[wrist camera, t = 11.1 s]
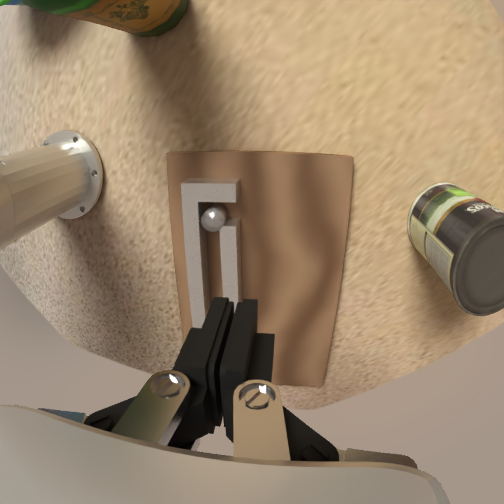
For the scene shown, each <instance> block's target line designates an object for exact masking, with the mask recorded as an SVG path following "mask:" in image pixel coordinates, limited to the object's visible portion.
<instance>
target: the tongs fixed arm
mask: <svg viewBox="0 0 504 504" xmlns="http://www.w3.org/2000/svg"><path fill="white" fill-rule="evenodd" d="M181 196H182V213H183V228H184V242H185V255H186V266H187V278H188V288H189V298H190V308H191V317H192V326H193V327H194V328H202V325H203V323H204V320H205V318H206V315H207V313H208V310H209V308H210V293H209V277H208V260H207V241H206V229H205V228H204V227H203V225H202V223H201V218H202V216H203V214H204V213H205V202H234V203H236V201H237V200H238V198H239V197H240V179H238V178H189V179H187V180H185V181H184V182H182V183H181Z"/></svg>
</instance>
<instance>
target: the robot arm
mask: <svg viewBox="0 0 504 504" xmlns="http://www.w3.org/2000/svg"><path fill="white" fill-rule="evenodd" d="M102 184H103V169H102V164H101V160H100V157H99V154H98V152H97V150H96V148H95V147H94V145H93V144H92V143H91V141H90V140H89V139H88V138H87V137H85V136H84V135H83V134H81V133H79V132H77V131H72V130H63V131H58V132H55V133H53V134H51V135H50V136H48V137H47V138H46V139H45V140H44V141H43V142H42V144H41V145H40V147H36V148H32V149H28V150H24V151H20V152H16V153H13V154H9V155H5V156H2V157H0V250H2V249H3V248H5V247H6V246H8V245H10V244H11V243H13V242H15V241H16V240H18V239H20V238H21V237H23V236H25V235H26V234H28V233H30V232H31V231H33V230H35V229H36V228H38V227H40V226H42V225H43V224H45V223H47V222H49V221H50V220H52V219H54V218H56V217H60V218H63V219H76V218H78V217H81V216H83V215H84V214H86V213H88V212H89V211H90V210H91V209H92V208H93V207H94V205H95V204H96V203H97V201H98V199H99V196H100V194H101V190H102ZM257 324H258V299H243V302H237V306H236V309H235V313H234V302H233V301H229V298H228V297H214V298H213V300H212V303H211V305H210V308H209V310H208V313H207V315H206V318H205V320H204V323H203V325H202V328H194V327H192V328H191V329H190V330H189V333H188V335H187V337H186V339H185V342H184V344H183V346H182V349H181V351H180V353H179V355H178V358H177V360H176V362H175V365H174V367H173V369H172V370H166V371H161V372H158V373H156V374H154V375H152V376H151V378H149V380H148V381H147V382H146V384H145V385H144V386H143V388H142V389H141V391H140V392H139V393H138V395H137V396H135V397H133V398H130V399H128V400H125V401H123V402H120V403H118V404H115V405H112V406H110V407H108V408H105V409H102V410H99V411H97V412H95V413H93V414H91V415H89V416H86V414H85V413H79V412H69V411H61V410H52V409H44V408H38V409H34V408H30V407H26V406H19V405H0V504H450V502H449V500H448V497H447V495H446V492H445V491H444V489H443V487H442V485H441V484H440V482H439V481H438V480H437V479H436V478H435V477H433V476H432V475H430V474H428V473H426V472H424V471H421V470H418V468H417V464H416V463H415V461H414V460H413V459H411V458H410V457H408V456H405V455H400V454H390V453H381V452H372V451H364V450H358V449H351V448H347V450H346V451H345V450H339V449H336V448H335V447H334V446H333V445H332V444H331V443H330V442H329V441H327V440H326V439H325V438H323V437H322V436H321V435H319V434H318V433H317V432H315V431H314V430H313V429H312V428H310V427H309V426H308V425H306V424H305V423H304V422H302V421H301V420H300V419H299V418H297V417H296V416H295V415H294V414H292V413H291V412H290V411H289V410H287V409H286V408H285V407H284V406H282V400H281V394H280V391H279V389H278V388H277V387H276V386H275V385H274V384H272V371H273V358H274V343H275V334H270V333H257ZM222 417H223V419H224V427H226V436H227V437H228V438H229V439H230V440H231V441H232V442H233V443H234V456H226V455H218V454H210V453H203V452H197V448H198V446H199V444H200V438H201V437H203V436H204V435H206V434H208V433H210V434H213V433H214V429H215V426H219V427H220V425H221V422H222Z"/></svg>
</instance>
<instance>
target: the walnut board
mask: <svg viewBox="0 0 504 504" xmlns="http://www.w3.org/2000/svg"><path fill="white" fill-rule="evenodd" d="M353 160H354V157H352V156H347V155H335V154H320V153H302V152H278V151H181V152H169V153H167V172H168V190H169V205H170V219H171V231H172V243H173V253H174V263H175V273H176V282H177V291H178V299H179V307H180V315H181V323H182V330H183V337H184V342H185V339H186V337H187V335H188V333H189V330H190V329H191V328H192V327H193V326H192V317H191V308H190V298H189V288H188V278H187V266H186V255H185V242H184V228H183V213H182V196H181V183H182V182H184V181H185V180H187V179H189V178H238V179H240V197H239V198H238V200H237V201H236V203H234V202H205V212H206V211H207V209H208V208H209V207H210V206H211V205H212V204H214V203H222V204H224V205H225V206H226V207H227V209H228V217H227V218H240V244H241V282H242V302H243V299H258V324H257V333H270V334H275V343H274V358H273V371H272V384H274V385H293V386H322V385H323V380H324V375H325V370H326V365H327V360H328V355H329V350H330V345H331V339H332V334H333V328H334V322H335V316H336V310H337V304H338V298H339V291H340V284H341V277H342V270H343V262H344V255H345V246H346V238H347V229H348V220H349V210H350V199H351V187H352V174H353ZM206 241H207V260H208V277H209V293H210V305H211V303H212V300H213V298H214V297H223V287H222V270H221V251H220V231H219V230H218V231H216V232H210V231H208V230H206Z"/></svg>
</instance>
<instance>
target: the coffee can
mask: <svg viewBox="0 0 504 504" xmlns="http://www.w3.org/2000/svg"><path fill="white" fill-rule="evenodd" d="M407 228H408V234H409V238H410V240H411V243H412V244H413V246H414V247H415V248H416V250H417V251H419V252H420V253H421V255H422V256H423V257H424V258H425V260H426V261H427V262H428V263H429V264H430V266H431V267H432V268H433V269H434V271H435V272H436V273H437V274H438V276H439V277H440V278H441V280H442V281H443V282H444V284H445V285H446V286H447V287H448V289H449V290H450V291H451V293H452V294H453V296H454V298H455V300H456V302H457V303H458V304H459V306H460V307H461V308H462V309H463V310H464V311H465V312H467V313H469V314H472V315H475V316H485V315H490V314H493V313H495V312H498V311H499V310H501V309H503V308H504V212H503V211H501V210H499V209H498V208H496V207H494V206H492V205H491V204H489V203H487V202H485V201H483V200H481V199H480V198H478V197H476V196H474V195H472V194H470V193H468V192H467V191H465V190H463V189H461V188H460V187H458V186H457V185H455V184H452V183H437V184H434V185H431V186H429V187H427V188H426V189H425V190H423V191H422V192H421V193H420V194H419V195H418V196H417V198H416V199H415V201H414V202H413V204H412V206H411V209H410V211H409V215H408V222H407Z"/></svg>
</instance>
